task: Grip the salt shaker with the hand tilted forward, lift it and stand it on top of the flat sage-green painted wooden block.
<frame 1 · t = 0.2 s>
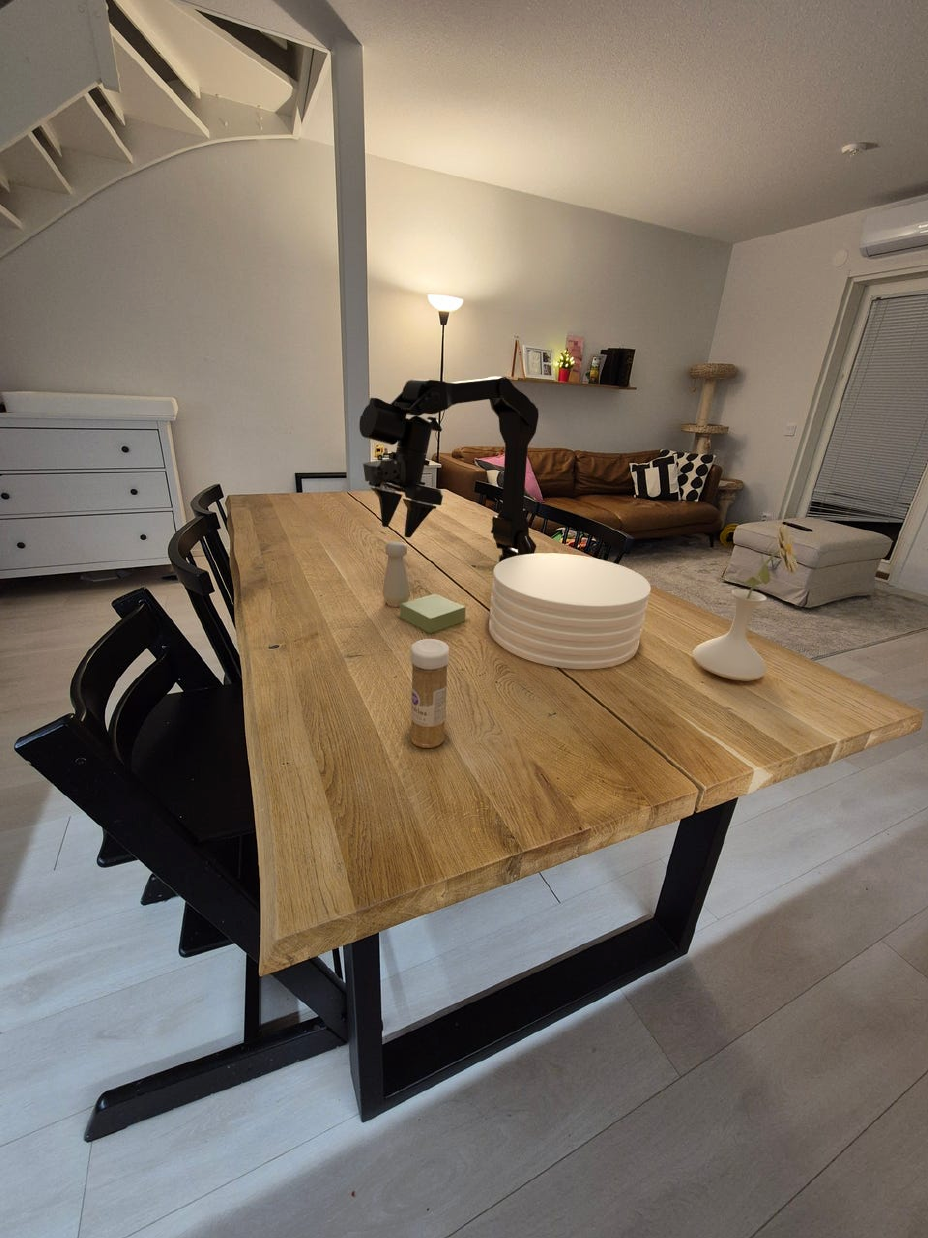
hand: (395, 531, 99), 15 cm above the table, tool pointing down, fingers open, 9 cm apart
sprinkles bottle: (427, 739, 65), on the table
plate stack: (561, 633, 96), on the table
green block: (432, 619, 98), on the table
salt shaker: (396, 604, 105), on the table
flower in vase: (728, 669, 86), on the table
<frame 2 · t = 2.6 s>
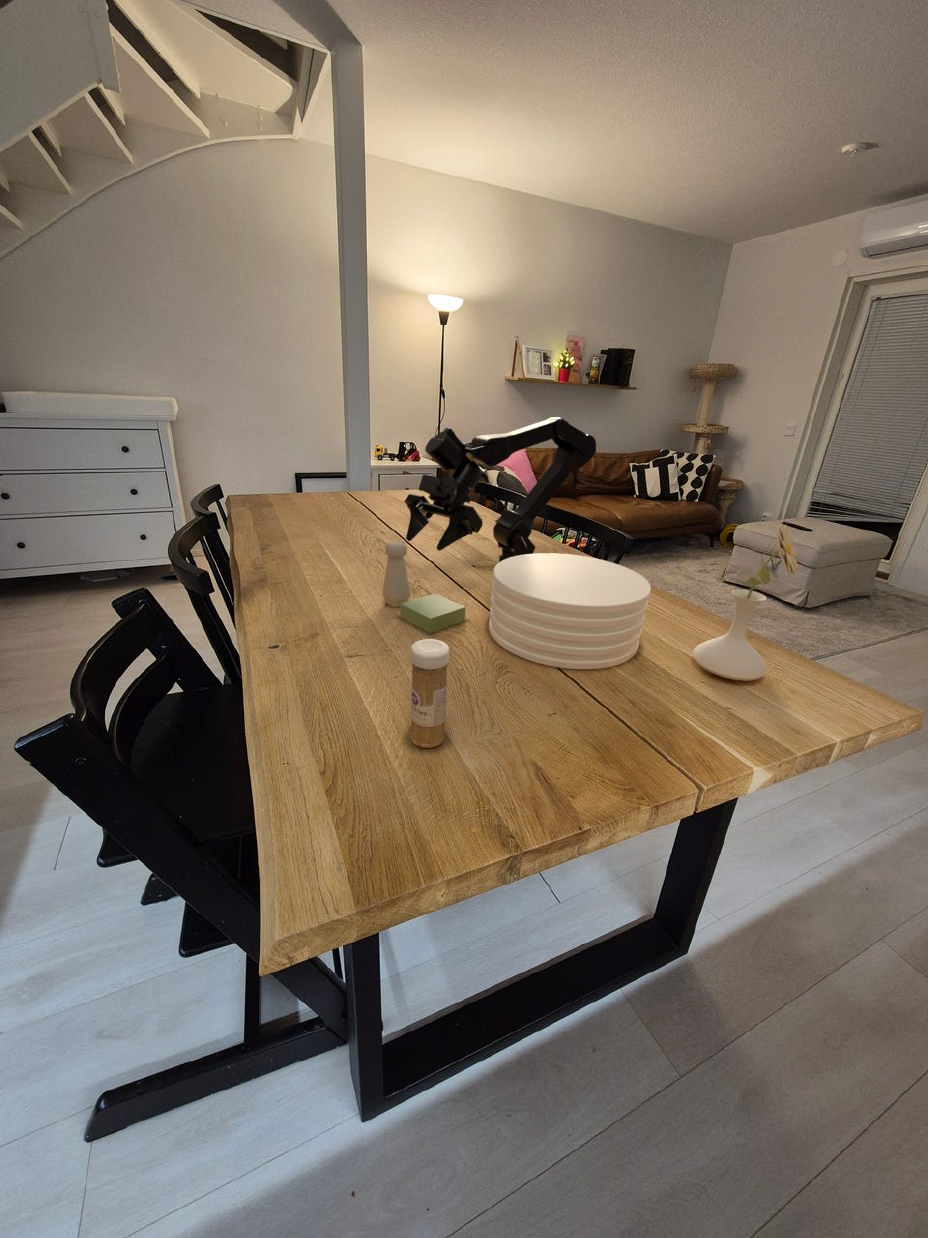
hand: (422, 544, 105), 11 cm above the table, tool tilted 45°, fingers open, 9 cm apart
nothing on the table moved.
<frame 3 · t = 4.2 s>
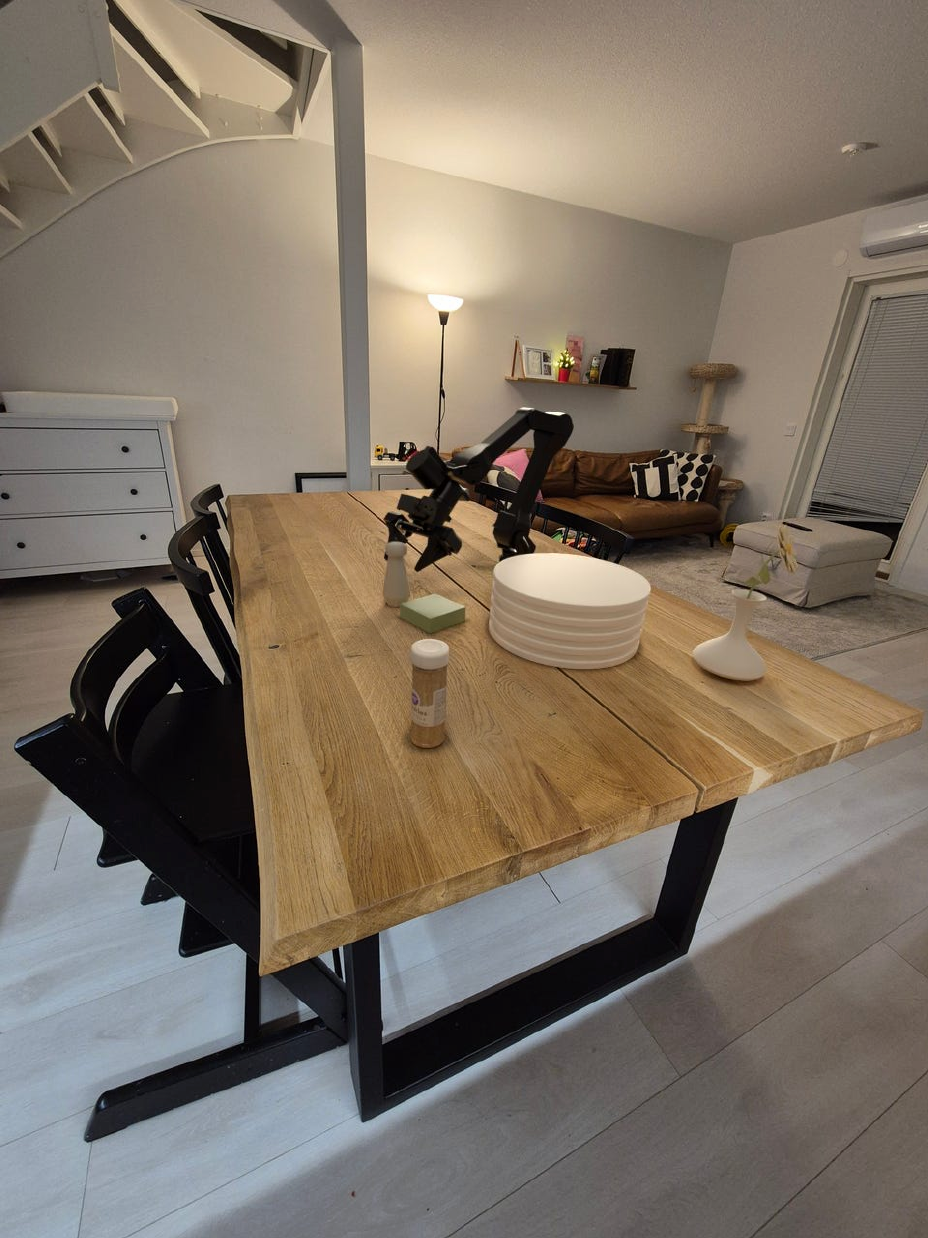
hand: (400, 565, 102), 8 cm above the table, tool tilted 45°, fingers open, 9 cm apart
nothing on the table moved.
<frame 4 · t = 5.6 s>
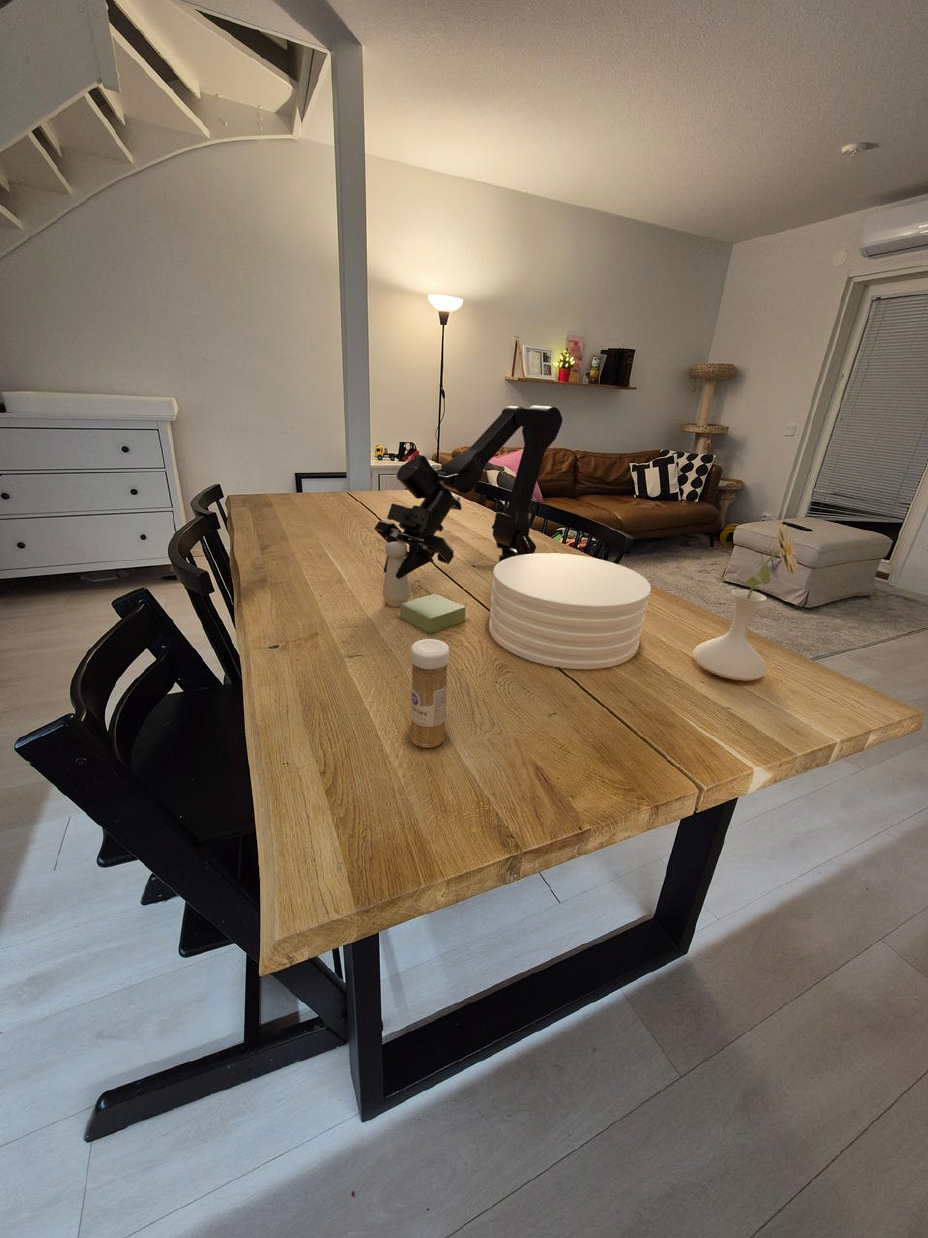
hand: (391, 575, 101), 7 cm above the table, tool tilted 45°, fingers closed on salt shaker, 3 cm apart
salt shaker: (396, 604, 105), on the table, touching gripper
everything else where it was.
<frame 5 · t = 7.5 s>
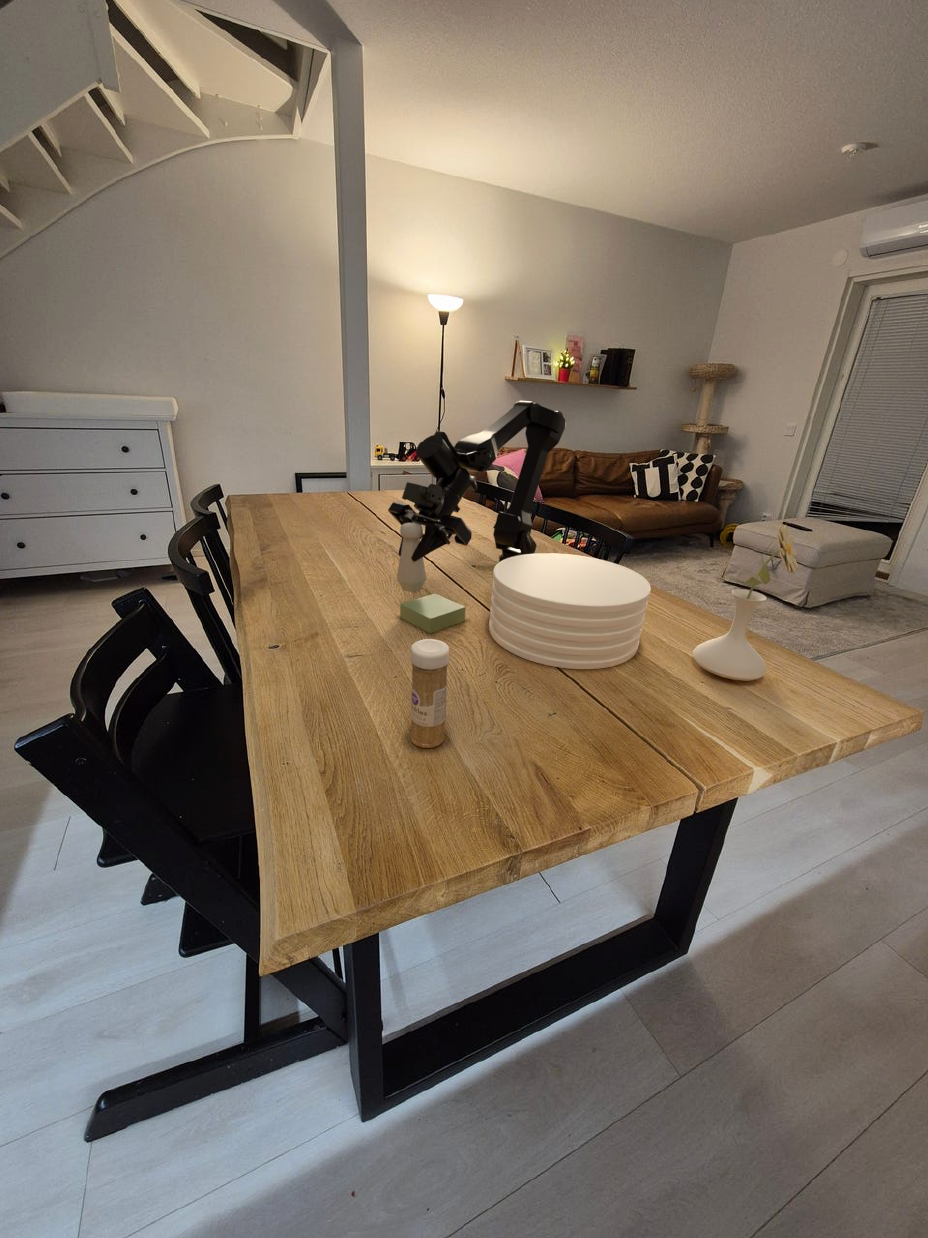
hand: (406, 558, 97), 11 cm above the table, tool tilted 45°, fingers closed on salt shaker, 3 cm apart
salt shaker: (411, 589, 100), point 4 cm above the table, touching gripper
everything else where it was.
when the fingers open (10 cm above the table, at t = 9.5 s): salt shaker stays where it is, resting on green block.
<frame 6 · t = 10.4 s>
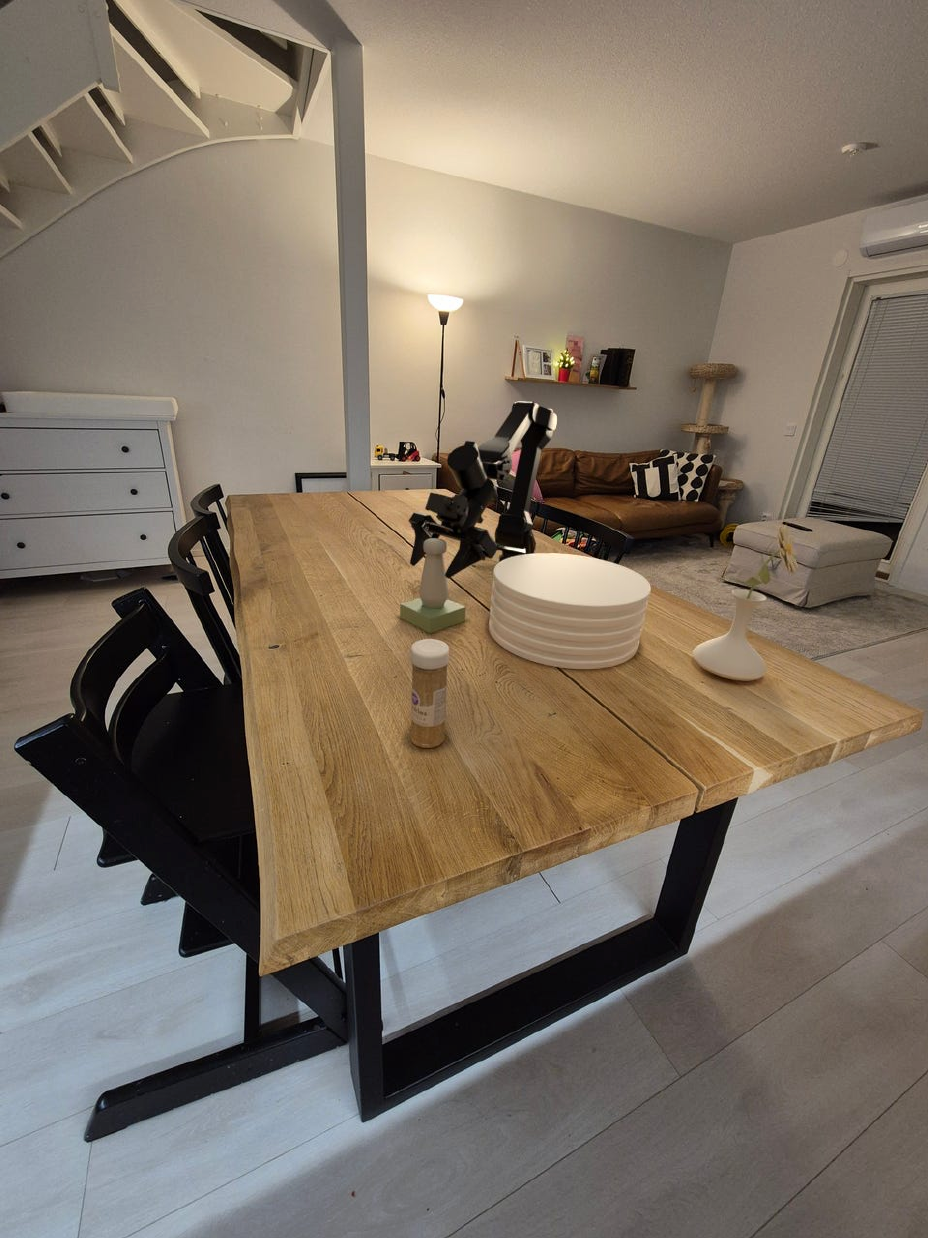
hand: (428, 570, 93), 10 cm above the table, tool tilted 45°, fingers open, 9 cm apart
green block: (432, 619, 98), on the table, touching salt shaker
salt shaker: (433, 605, 97), point 3 cm above the table, touching green block
everything else where it was.
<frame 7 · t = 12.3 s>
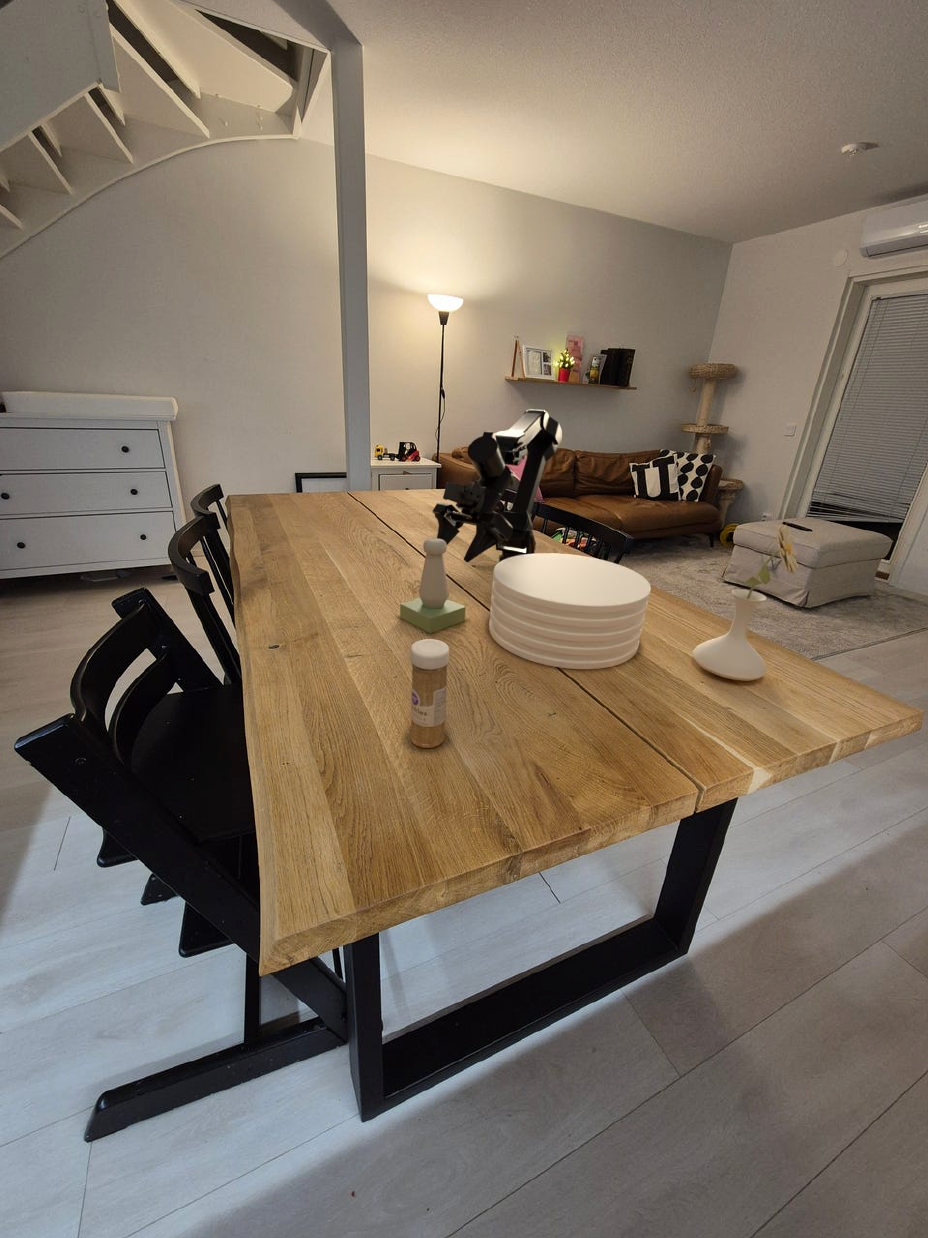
hand: (450, 556, 99), 11 cm above the table, tool tilted 40°, fingers open, 9 cm apart
nothing on the table moved.
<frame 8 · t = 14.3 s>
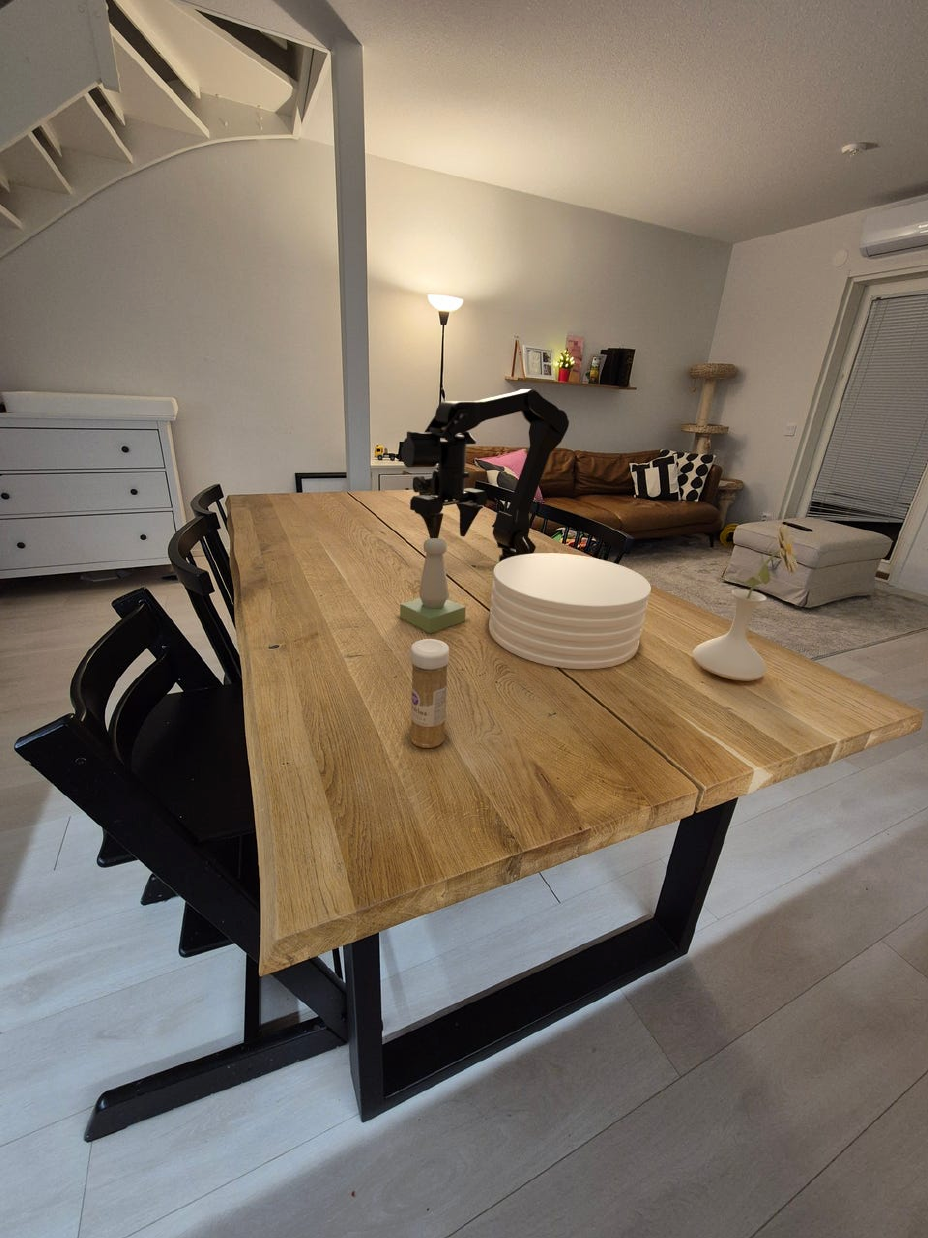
hand: (448, 539, 111), 11 cm above the table, tool pointing down, fingers open, 9 cm apart
nothing on the table moved.
at the end: salt shaker 0.2 cm off-centre on the green block, point 2.8 cm above the green block's base; salt shaker tilted 0°; the gripper is holding nothing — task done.
